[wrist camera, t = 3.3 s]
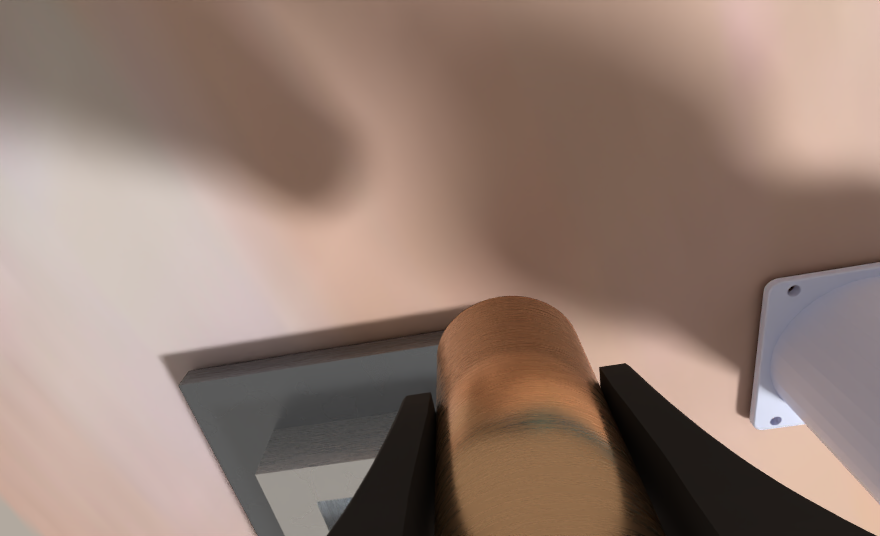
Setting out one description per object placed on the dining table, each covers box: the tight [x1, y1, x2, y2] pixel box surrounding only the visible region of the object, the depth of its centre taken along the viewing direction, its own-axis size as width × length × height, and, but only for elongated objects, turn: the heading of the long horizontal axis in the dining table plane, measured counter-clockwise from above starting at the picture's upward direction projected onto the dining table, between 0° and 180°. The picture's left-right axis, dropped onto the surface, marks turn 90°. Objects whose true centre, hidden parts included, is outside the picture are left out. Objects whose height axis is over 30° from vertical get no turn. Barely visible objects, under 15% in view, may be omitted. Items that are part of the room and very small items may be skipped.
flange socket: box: [179, 331, 444, 536], centre depth 23 cm, size 16×16×4 cm
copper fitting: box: [434, 296, 666, 536], centre depth 11 cm, size 4×4×7 cm
